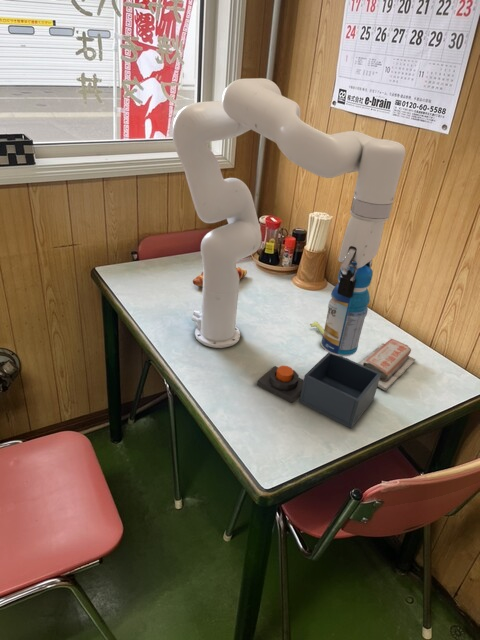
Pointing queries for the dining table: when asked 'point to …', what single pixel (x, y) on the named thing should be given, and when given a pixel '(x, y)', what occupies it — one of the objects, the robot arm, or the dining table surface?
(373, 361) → the packaged product
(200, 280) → the croissant
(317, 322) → the key
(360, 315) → the beverage bottle
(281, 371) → the call button
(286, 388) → the box
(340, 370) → the blue box
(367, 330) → the dining table surface
